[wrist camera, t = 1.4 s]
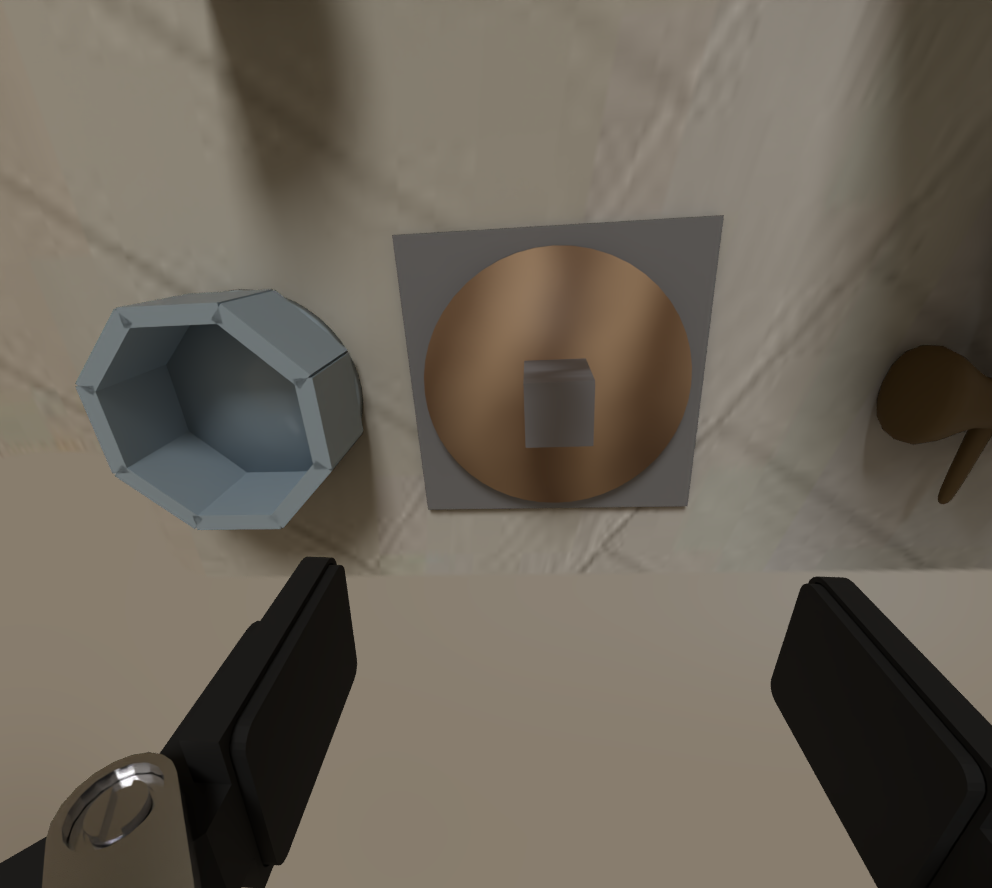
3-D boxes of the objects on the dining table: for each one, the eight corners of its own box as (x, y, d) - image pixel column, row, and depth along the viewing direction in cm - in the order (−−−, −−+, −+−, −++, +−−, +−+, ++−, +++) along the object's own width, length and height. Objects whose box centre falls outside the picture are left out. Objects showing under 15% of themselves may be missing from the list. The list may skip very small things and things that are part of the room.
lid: (702, 236, 26) (742, 239, 21) (673, 493, 33) (699, 541, 28) (411, 253, 27) (385, 259, 22) (440, 497, 34) (425, 543, 29)
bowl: (343, 283, 29) (294, 298, 23) (376, 476, 34) (344, 528, 28) (139, 294, 30) (43, 311, 24) (202, 479, 35) (136, 530, 29)
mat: (720, 215, 26) (723, 215, 26) (685, 502, 33) (687, 506, 33) (394, 234, 27) (392, 235, 27) (429, 505, 35) (428, 509, 34)
